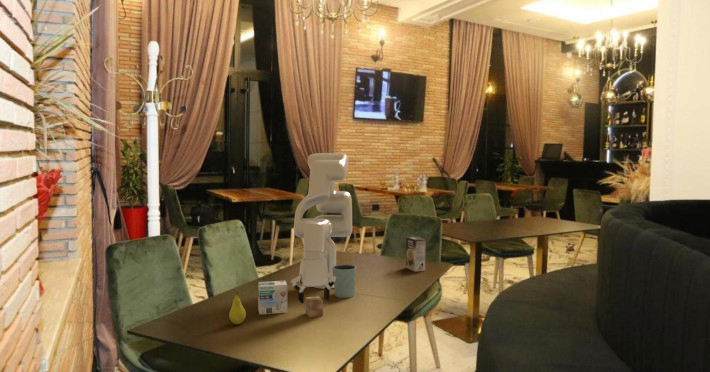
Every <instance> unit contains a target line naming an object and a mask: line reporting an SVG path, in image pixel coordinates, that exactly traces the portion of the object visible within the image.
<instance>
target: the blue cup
mask: <svg viewBox="0 0 710 372" xmlns="http://www.w3.org/2000/svg"><path fill="white" fill-rule="evenodd" d="M332 270H333V276H335V277H336V280H335V282H334V288H333V290H334V291H333V292H334V293H333V294H334V297H337V298H340V299H345V298H349V299H350V298H353V297H355V296H356V282H357V280H356V279H357V266H356V265H354V264H344V263H343V264H336V265H335V266H333V267H332Z"/></svg>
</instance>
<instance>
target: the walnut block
mask: <svg viewBox="0 0 710 372" xmlns="http://www.w3.org/2000/svg"><path fill="white" fill-rule="evenodd" d="M305 314H306V315H307V316H308V317H309V318H316V317H323V316H324V298H323V299H322V298H321V297H320V296H319V295H316V296H309V297H305Z"/></svg>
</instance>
